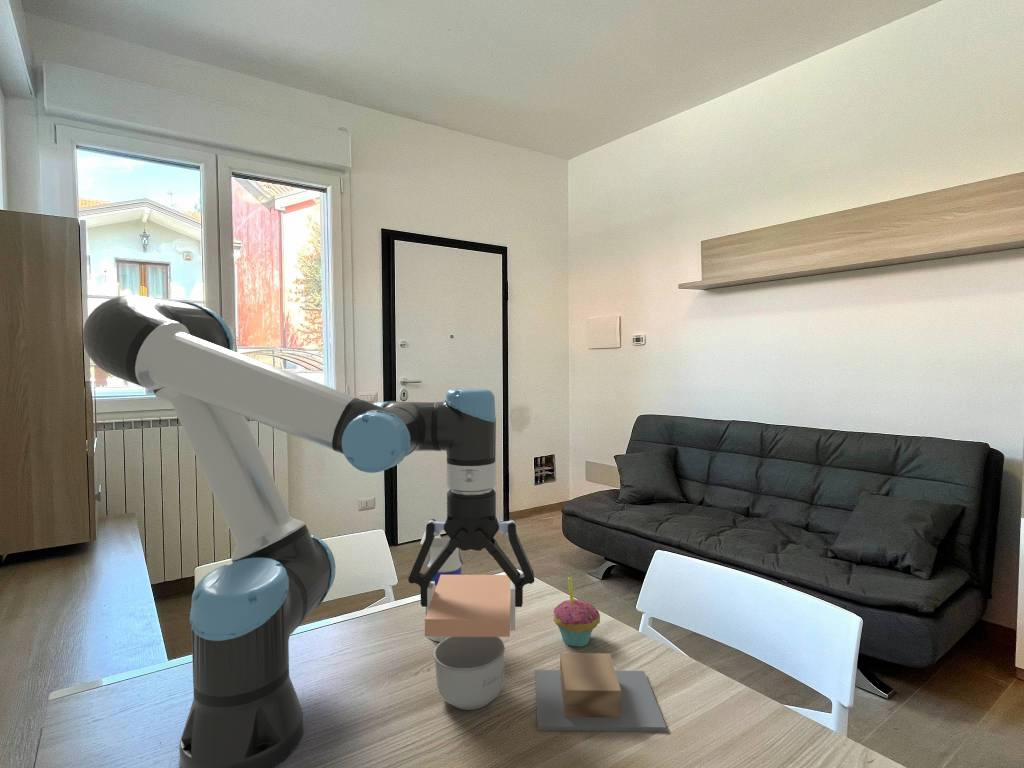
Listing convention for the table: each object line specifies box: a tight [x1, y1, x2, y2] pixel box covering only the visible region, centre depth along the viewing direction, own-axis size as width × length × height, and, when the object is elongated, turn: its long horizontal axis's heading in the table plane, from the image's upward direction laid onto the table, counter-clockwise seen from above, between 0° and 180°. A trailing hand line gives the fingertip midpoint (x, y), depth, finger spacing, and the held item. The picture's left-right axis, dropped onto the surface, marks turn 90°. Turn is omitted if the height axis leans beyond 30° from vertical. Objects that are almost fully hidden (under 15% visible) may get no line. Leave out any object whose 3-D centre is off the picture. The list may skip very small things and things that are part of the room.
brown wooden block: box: [559, 652, 621, 718], centre depth 85 cm, size 8×10×4 cm
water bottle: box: [420, 501, 464, 643], centre depth 106 cm, size 8×9×25 cm
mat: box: [534, 669, 667, 732], centre depth 85 cm, size 18×14×1 cm
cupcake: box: [553, 572, 601, 647], centre depth 103 cm, size 9×8×12 cm
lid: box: [424, 574, 512, 638], centre depth 87 cm, size 12×16×2 cm
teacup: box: [433, 637, 506, 711], centre depth 87 cm, size 14×11×8 cm
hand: (472, 626), depth 87 cm, fingers closed on lid, 12 cm apart
